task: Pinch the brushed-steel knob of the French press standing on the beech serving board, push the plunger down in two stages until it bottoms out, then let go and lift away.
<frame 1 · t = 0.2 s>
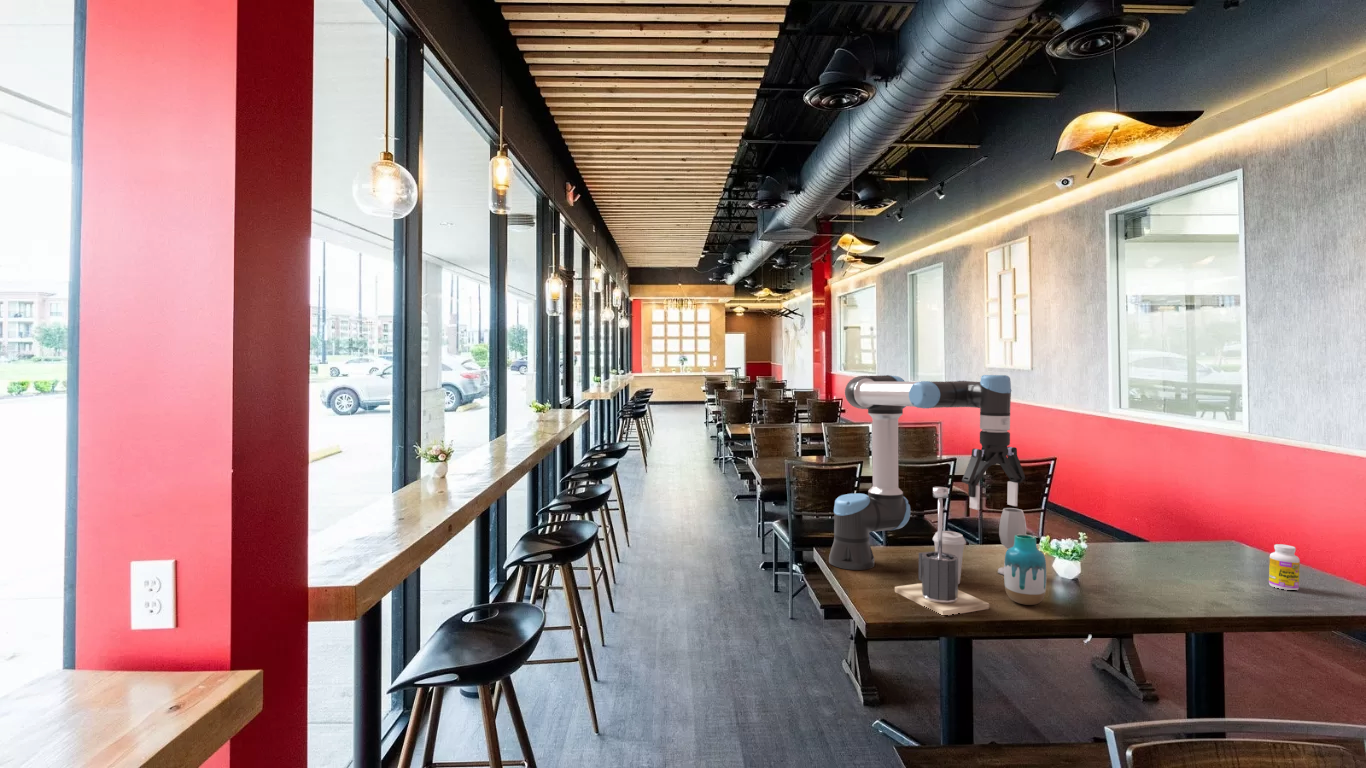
hand: (993, 507, 174), 29 cm above the table, fingers open, 13 cm apart
coffee cup: (948, 582, 198), on the table
fluted grey tumbler: (939, 597, 179), resting on serving board
vase: (1024, 603, 179), on the table
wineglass: (1012, 574, 205), on the table
plunger: (940, 524, 179), point 23 cm above the table, slide at 0.0 cm
supplement bottle: (1283, 588, 192), on the table
serving board: (940, 599, 182), on the table
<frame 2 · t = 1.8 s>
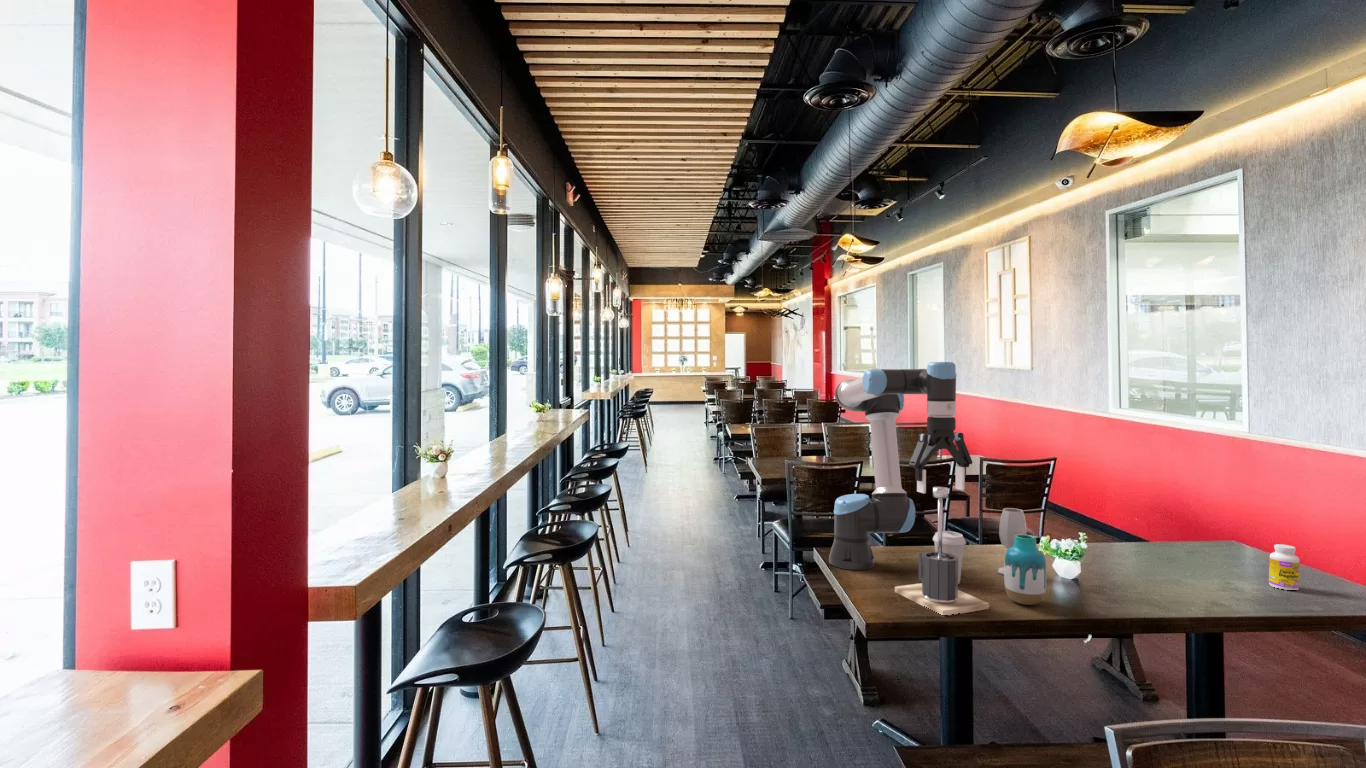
hand: (940, 491, 178), 32 cm above the table, fingers open, 13 cm apart
nothing on the table moved.
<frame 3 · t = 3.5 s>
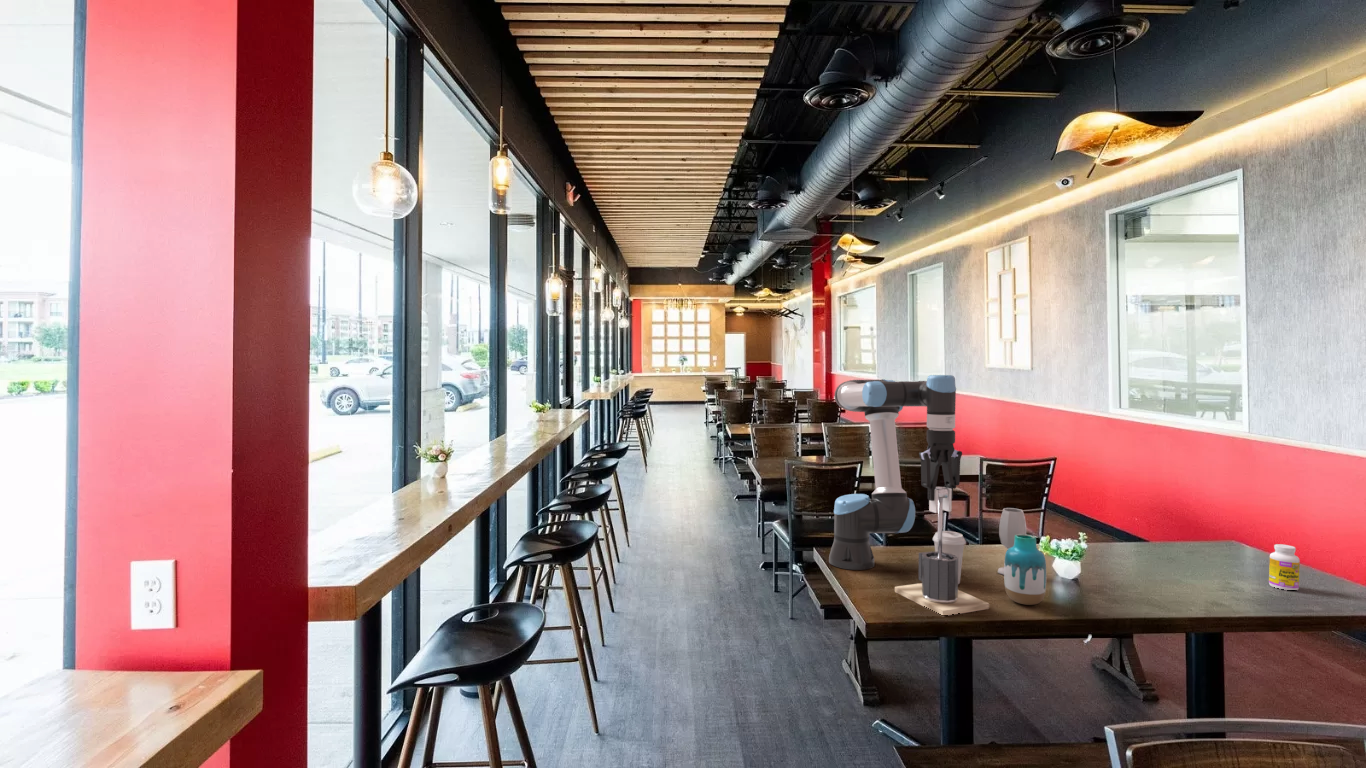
hand: (940, 511, 179), 26 cm above the table, fingers closed on plunger, 4 cm apart
plunger: (940, 524, 179), point 23 cm above the table, slide at 0.0 cm, touching gripper
everything else where it was.
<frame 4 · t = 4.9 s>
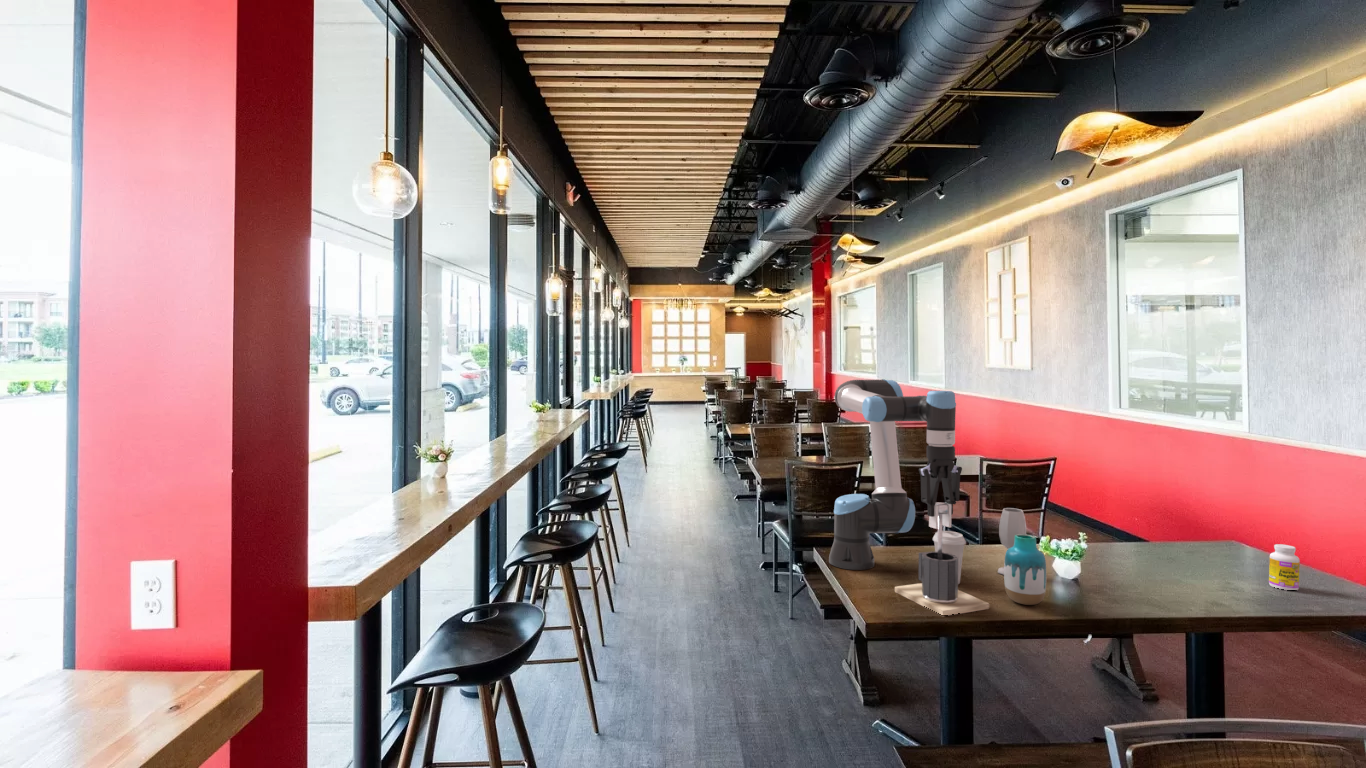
hand: (940, 526, 179), 22 cm above the table, fingers closed on plunger, 4 cm apart
plunger: (940, 540, 179), point 18 cm above the table, slide at 4.5 cm, touching gripper
everything else where it was.
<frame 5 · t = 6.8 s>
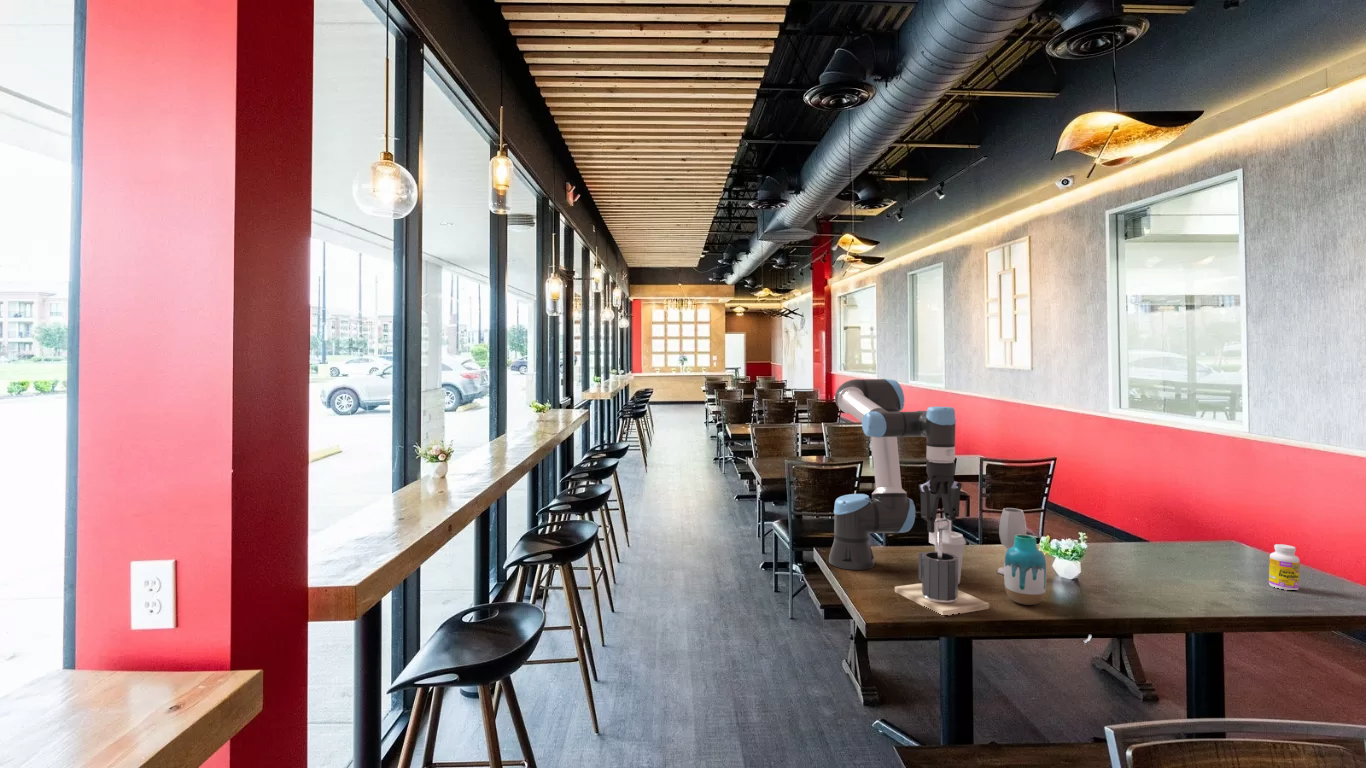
hand: (940, 542, 179), 17 cm above the table, fingers closed on plunger, 4 cm apart
plunger: (939, 556, 179), point 14 cm above the table, slide at 9.1 cm, touching gripper
everything else where it was.
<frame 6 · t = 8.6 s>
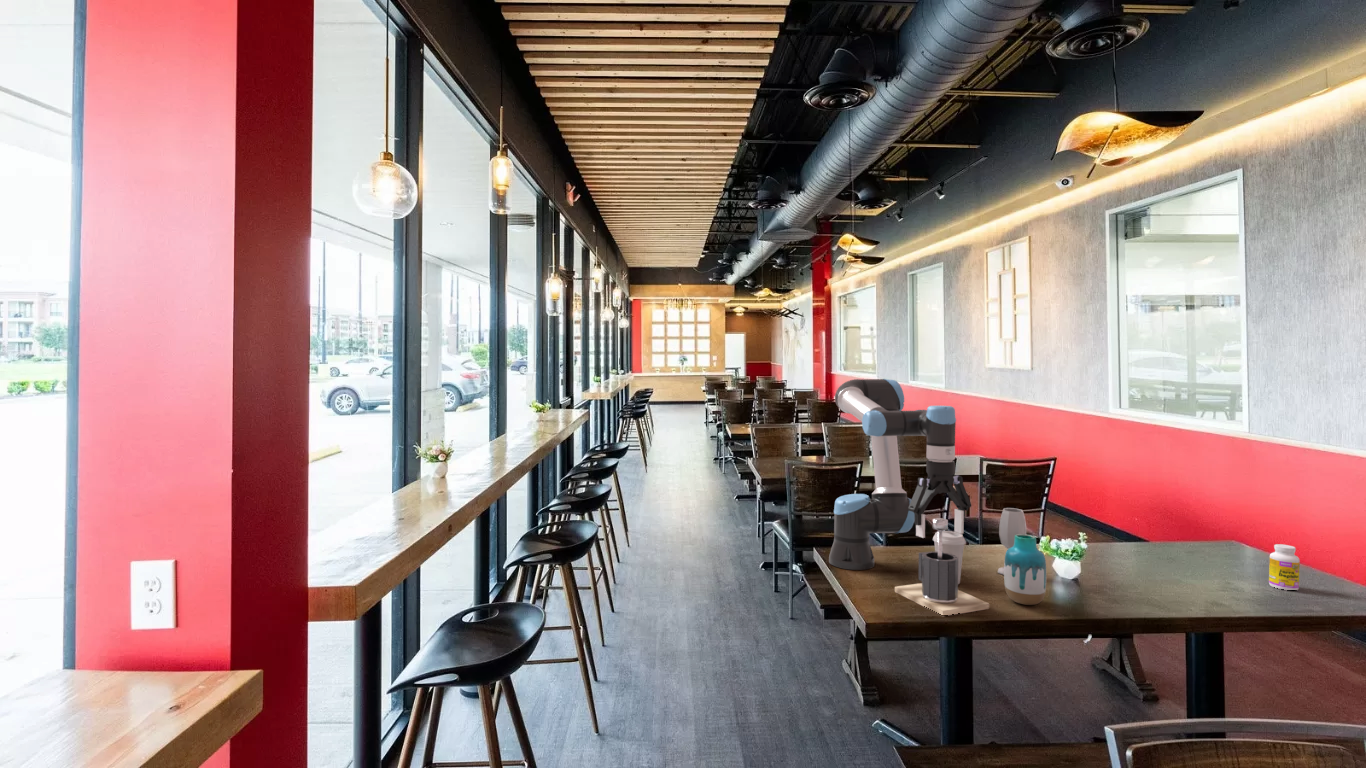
hand: (939, 534, 179), 20 cm above the table, fingers open, 13 cm apart
plunger: (939, 556, 179), point 14 cm above the table, slide at 9.1 cm
everything else where it was.
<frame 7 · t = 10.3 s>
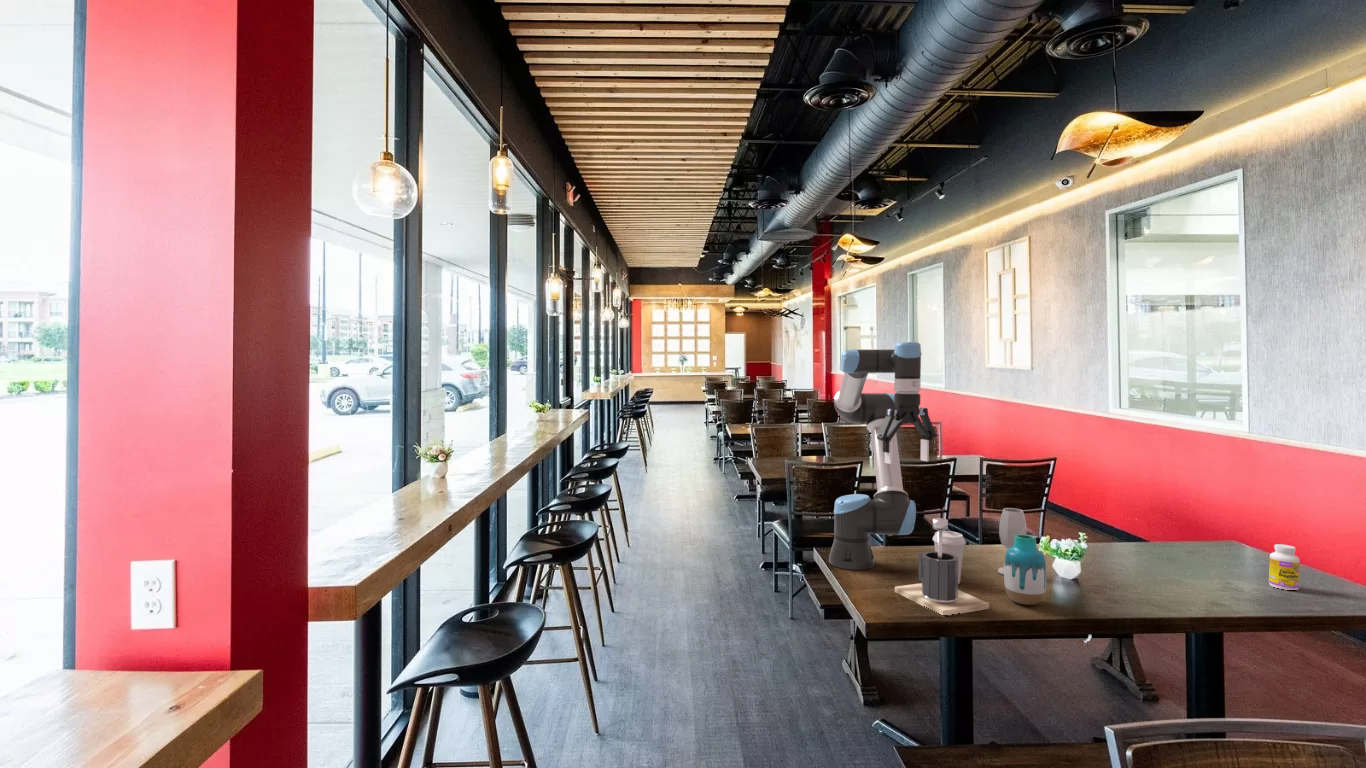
hand: (906, 462, 192), 38 cm above the table, fingers open, 13 cm apart
nothing on the table moved.
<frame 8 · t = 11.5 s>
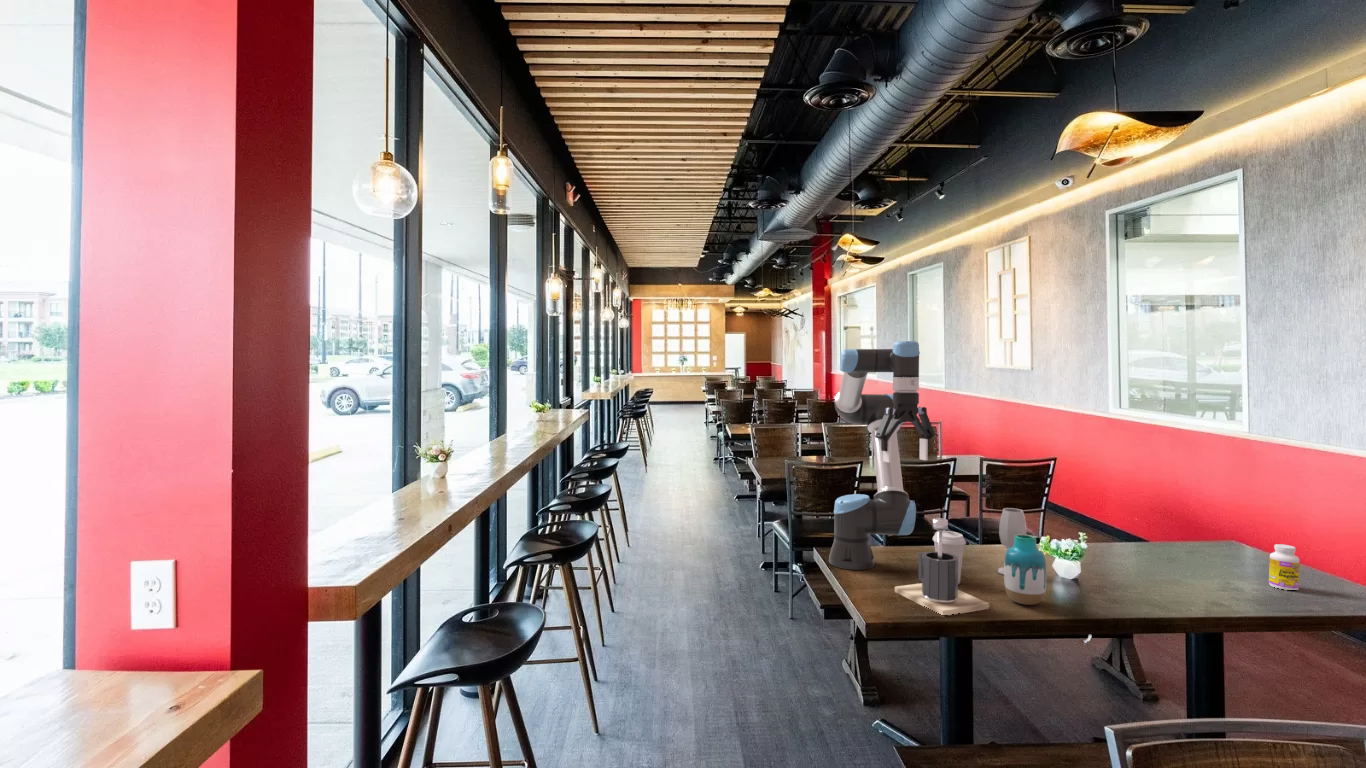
hand: (905, 461, 193), 39 cm above the table, fingers open, 13 cm apart
nothing on the table moved.
at the end: plunger slide at 9.1 cm; the gripper is holding nothing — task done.
